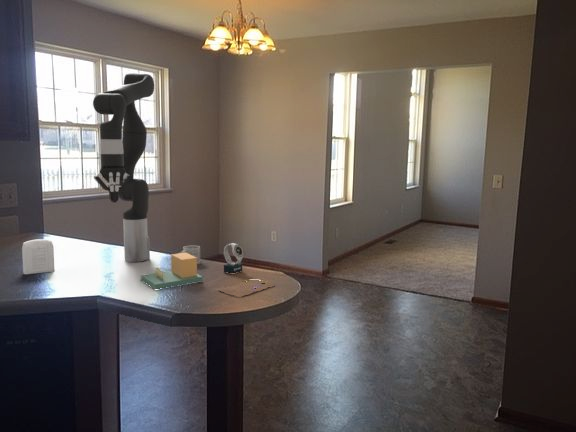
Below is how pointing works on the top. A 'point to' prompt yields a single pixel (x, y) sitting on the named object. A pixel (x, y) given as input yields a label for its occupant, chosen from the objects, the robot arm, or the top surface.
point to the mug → (192, 251)
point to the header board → (167, 279)
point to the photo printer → (38, 256)
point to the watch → (238, 253)
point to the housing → (184, 265)
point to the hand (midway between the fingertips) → (113, 202)
